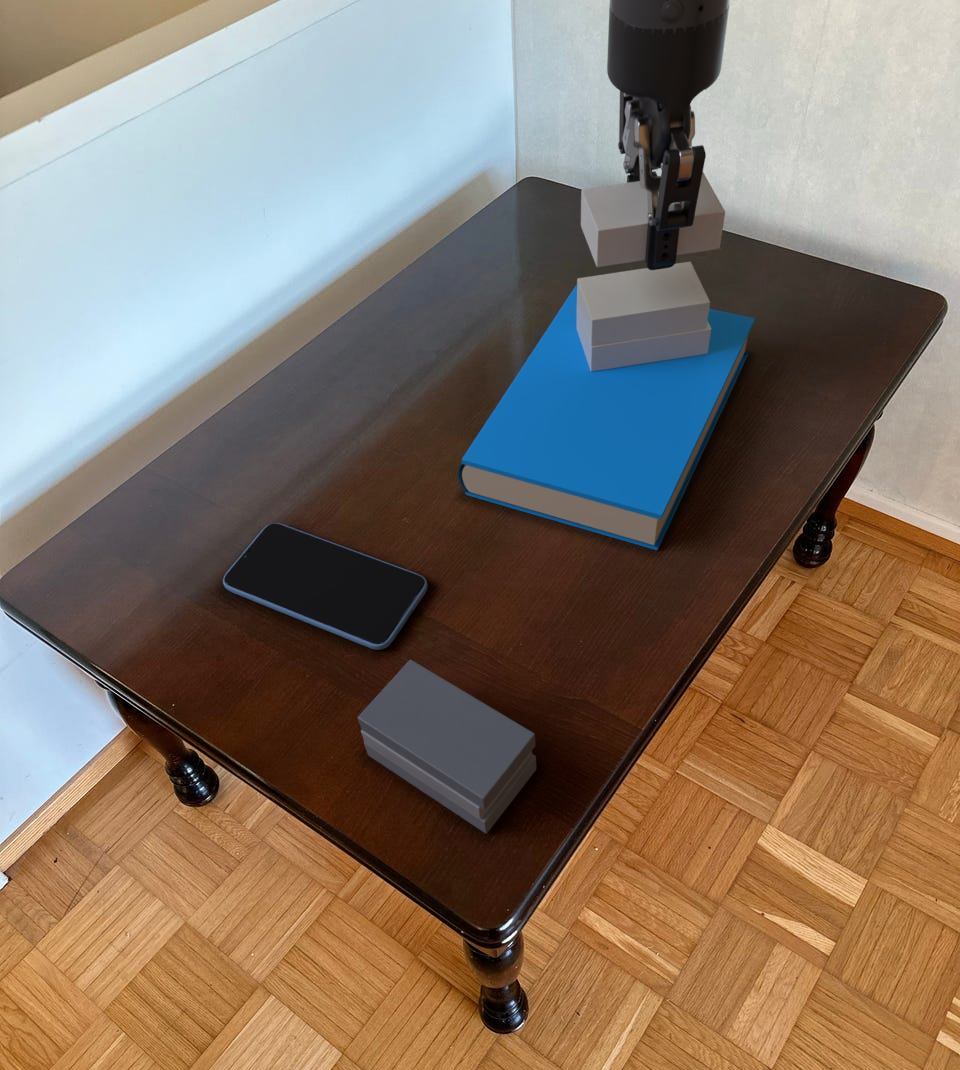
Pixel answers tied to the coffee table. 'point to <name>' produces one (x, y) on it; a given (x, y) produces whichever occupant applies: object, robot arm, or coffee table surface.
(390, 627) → the smartphone
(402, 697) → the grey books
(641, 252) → the light grey block
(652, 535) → the book
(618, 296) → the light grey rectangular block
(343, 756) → the coffee table surface
